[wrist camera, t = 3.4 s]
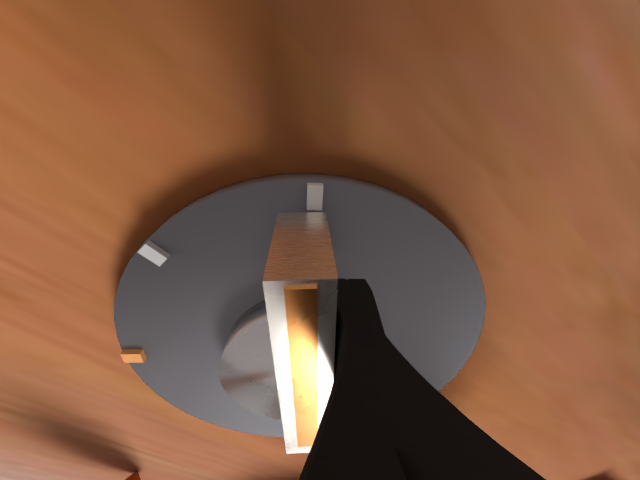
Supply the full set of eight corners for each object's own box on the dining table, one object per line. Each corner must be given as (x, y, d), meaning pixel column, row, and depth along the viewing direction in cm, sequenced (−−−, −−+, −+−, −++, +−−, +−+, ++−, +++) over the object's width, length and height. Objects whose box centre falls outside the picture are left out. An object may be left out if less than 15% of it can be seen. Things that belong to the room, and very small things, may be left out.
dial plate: (424, 419, 21) (431, 437, 20) (173, 426, 20) (165, 446, 19) (539, 182, 11) (565, 192, 10) (55, 162, 10) (24, 171, 9)
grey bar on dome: (376, 392, 17) (399, 490, 13) (239, 399, 17) (218, 502, 13) (412, 202, 10) (485, 276, 6) (186, 207, 10) (101, 289, 6)
